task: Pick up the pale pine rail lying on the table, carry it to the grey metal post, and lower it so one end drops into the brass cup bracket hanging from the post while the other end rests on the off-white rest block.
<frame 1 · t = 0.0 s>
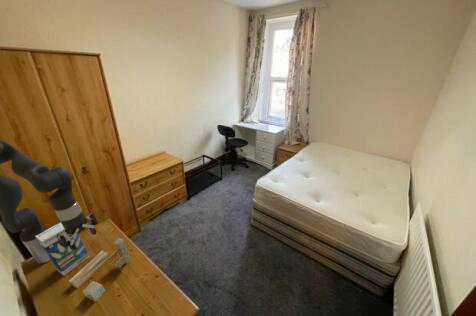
hand: (84, 241, 87), 29 cm above the table, tool pointing down, fingers open, 8 cm apart
string lights box: (74, 263, 109), on the table
pine rail: (91, 270, 105), on the table
bracket stand: (110, 278, 101), on the table
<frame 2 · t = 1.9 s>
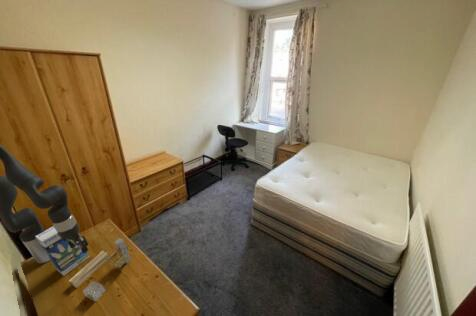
hand: (79, 249, 97), 17 cm above the table, tool pointing down, fingers open, 8 cm apart
nothing on the table moved.
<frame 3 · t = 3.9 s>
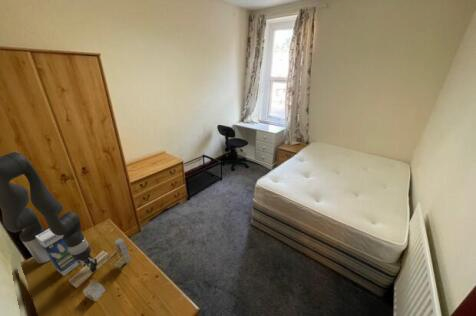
hand: (91, 269, 105), 1 cm above the table, tool pointing down, fingers closed on pine rail, 4 cm apart
pine rail: (92, 270, 105), on the table, touching gripper
everything else where it was.
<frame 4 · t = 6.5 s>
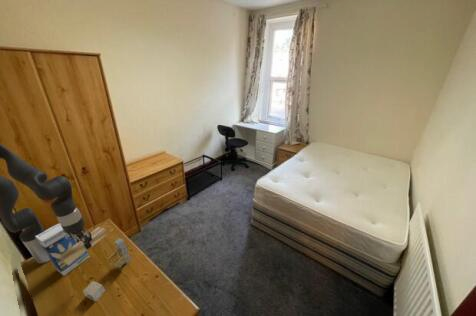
hand: (85, 246, 92), 22 cm above the table, tool pointing down, fingers closed on pine rail, 4 cm apart
pine rail: (86, 247, 93), point 21 cm above the table, touching gripper
everything else where it was.
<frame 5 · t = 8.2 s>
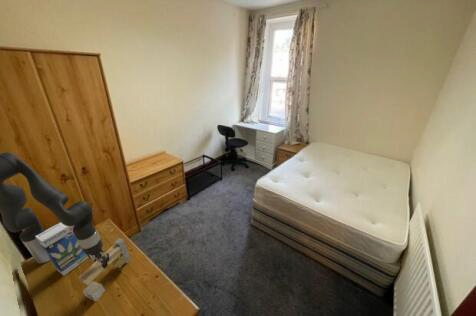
hand: (102, 265, 96), 11 cm above the table, tool pointing down, fingers closed on pine rail, 4 cm apart
pine rail: (103, 266, 96), point 10 cm above the table, touching gripper
everything else where it was.
when the fingers open (7 cm above the table, at t = 9.4 s): pine rail drops 1 cm, resting on bracket stand.
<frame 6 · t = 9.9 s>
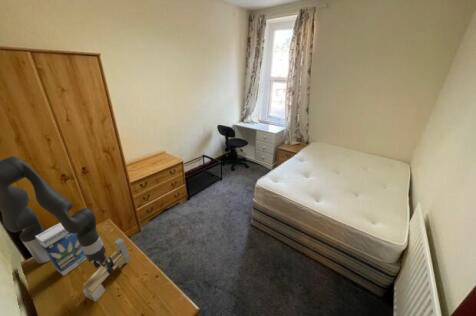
hand: (104, 269, 97), 8 cm above the table, tool pointing down, fingers open, 8 cm apart
pine rail: (106, 273, 98), point 5 cm above the table, touching bracket stand
everything else where it was.
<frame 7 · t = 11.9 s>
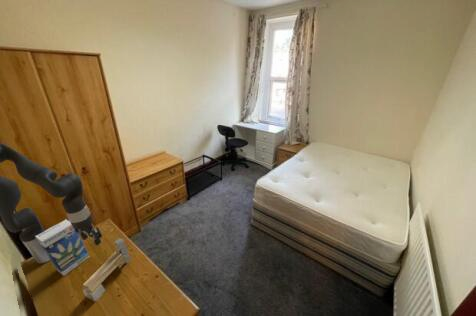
hand: (92, 241, 94), 23 cm above the table, tool pointing down, fingers open, 8 cm apart
nothing on the table moved.
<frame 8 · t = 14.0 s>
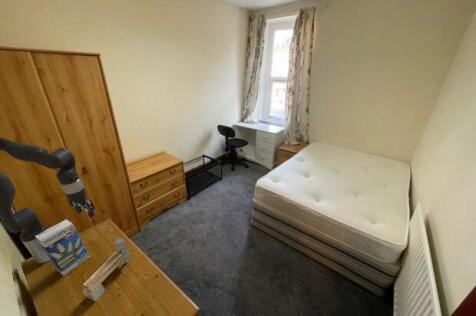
hand: (86, 214, 101), 30 cm above the table, tool pointing down, fingers open, 8 cm apart
nothing on the table moved.
at the end: pine rail 0.1 cm off-centre on the bracket stand, point 5.0 cm above the bracket stand's base; pine rail tilted 0°; the gripper is holding nothing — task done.
